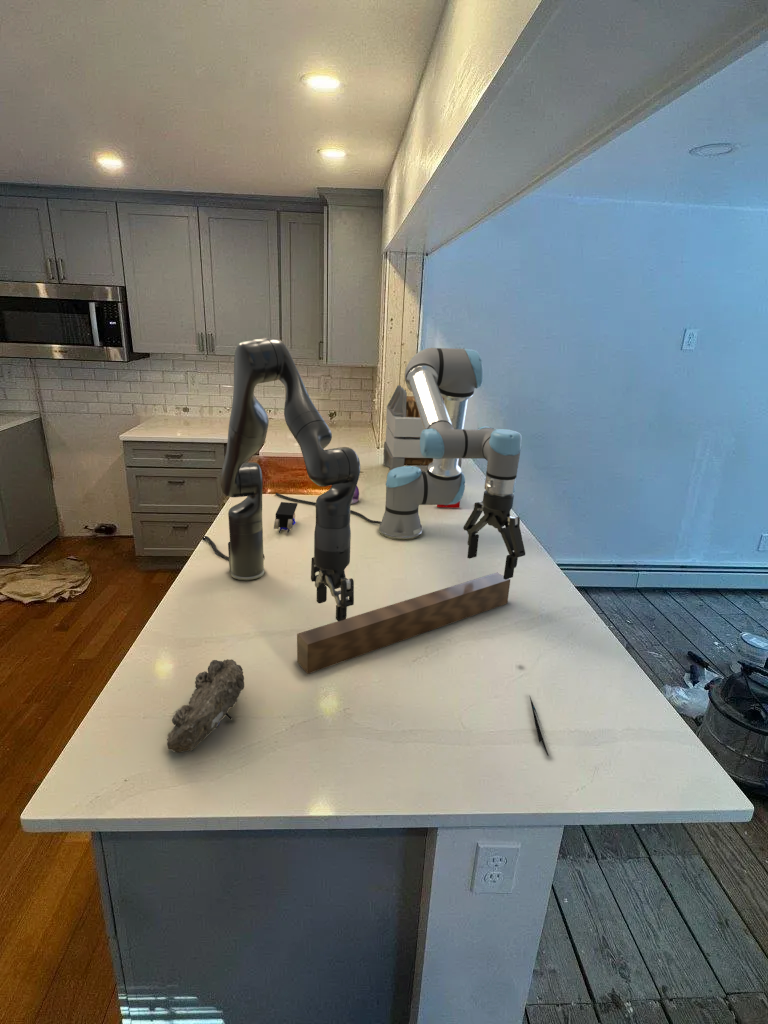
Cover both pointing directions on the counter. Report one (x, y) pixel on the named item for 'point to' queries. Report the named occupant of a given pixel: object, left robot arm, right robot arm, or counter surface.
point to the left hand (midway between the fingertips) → (331, 610)
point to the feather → (538, 726)
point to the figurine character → (285, 516)
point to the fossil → (206, 705)
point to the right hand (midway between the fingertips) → (489, 567)
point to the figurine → (355, 496)
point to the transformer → (404, 432)
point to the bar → (398, 622)
